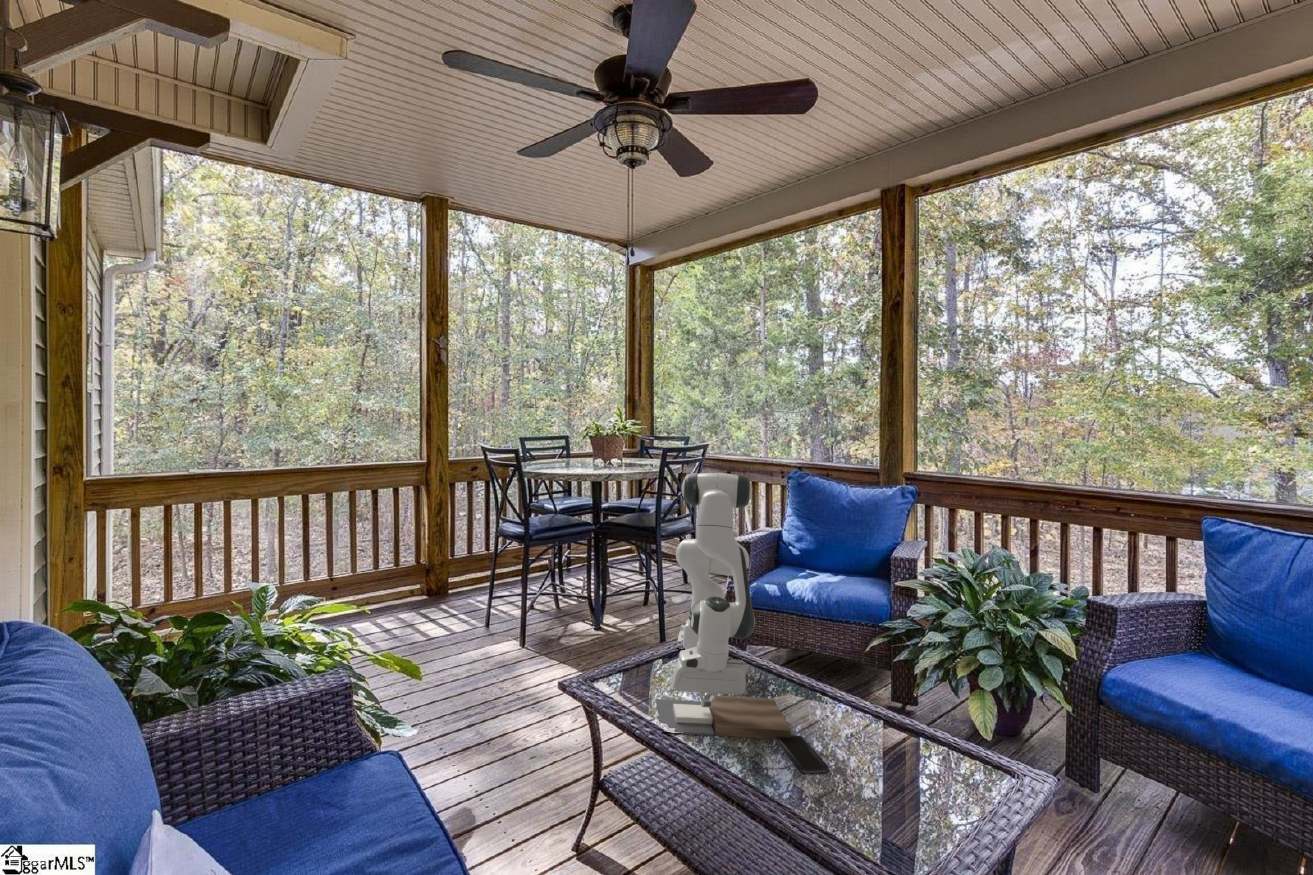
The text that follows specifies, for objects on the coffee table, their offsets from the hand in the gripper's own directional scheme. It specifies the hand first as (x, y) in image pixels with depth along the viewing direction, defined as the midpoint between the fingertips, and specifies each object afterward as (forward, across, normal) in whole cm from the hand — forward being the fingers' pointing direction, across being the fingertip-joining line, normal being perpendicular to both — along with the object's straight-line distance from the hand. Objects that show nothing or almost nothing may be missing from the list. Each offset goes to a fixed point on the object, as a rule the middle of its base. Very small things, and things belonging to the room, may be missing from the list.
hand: (706, 706), depth 168 cm
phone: (+4, -22, +16) cm, 28 cm away
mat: (+3, +6, 0) cm, 7 cm away
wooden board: (+3, -12, 0) cm, 12 cm away
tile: (+3, +4, 0) cm, 5 cm away
